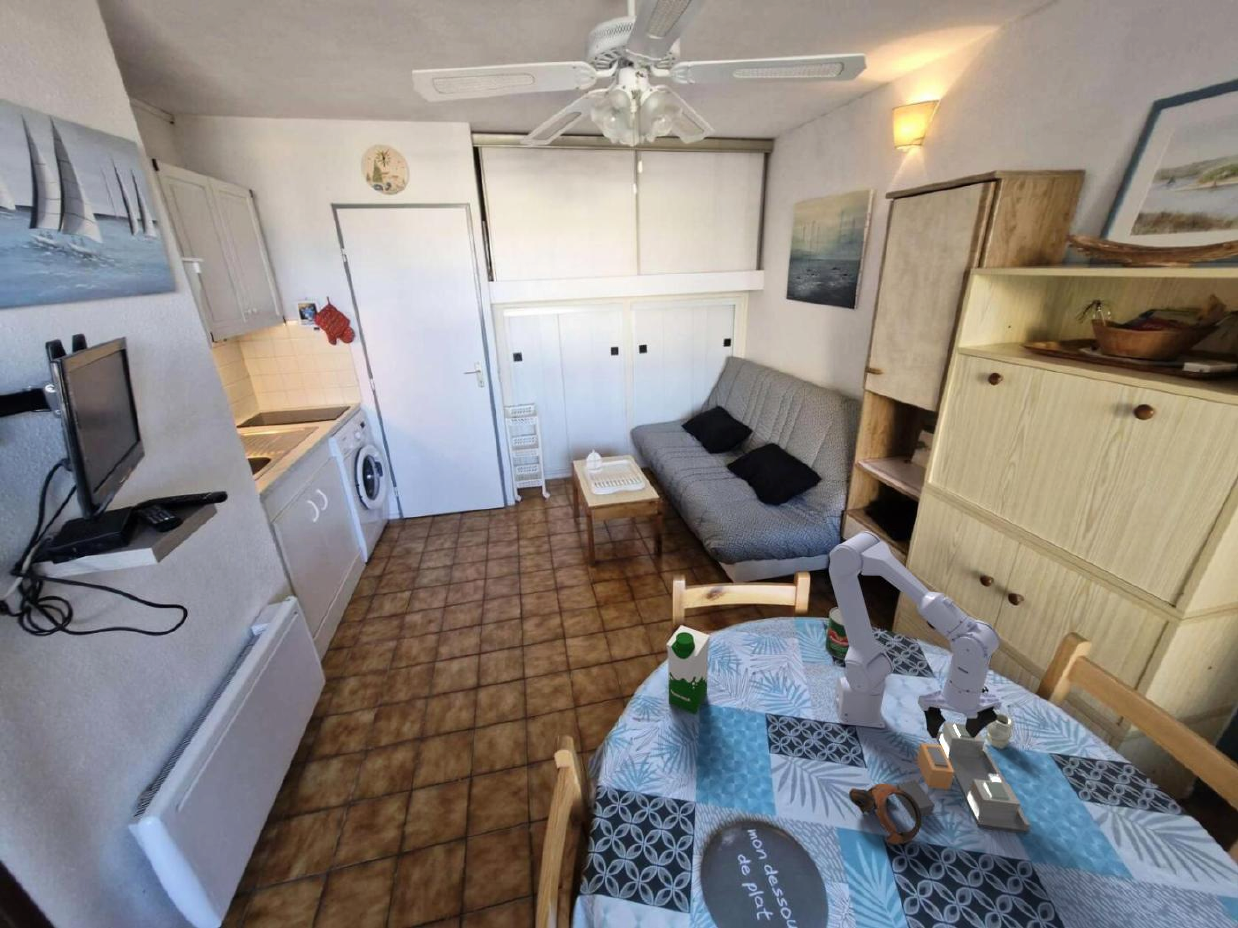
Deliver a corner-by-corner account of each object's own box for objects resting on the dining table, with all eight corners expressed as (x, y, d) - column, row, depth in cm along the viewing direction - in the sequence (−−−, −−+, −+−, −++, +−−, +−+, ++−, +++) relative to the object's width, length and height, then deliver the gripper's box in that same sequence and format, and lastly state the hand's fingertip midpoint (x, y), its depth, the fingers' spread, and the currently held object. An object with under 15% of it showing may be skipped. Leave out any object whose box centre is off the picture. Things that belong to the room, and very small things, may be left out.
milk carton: (663, 703, 122) (662, 637, 115) (680, 679, 129) (680, 615, 122) (697, 719, 117) (698, 651, 110) (712, 692, 124) (714, 627, 117)
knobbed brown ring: (900, 795, 99) (924, 789, 93) (904, 853, 94) (930, 852, 87) (839, 775, 101) (859, 768, 94) (840, 831, 95) (860, 828, 88)
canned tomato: (828, 658, 133) (833, 624, 129) (822, 638, 141) (826, 605, 137) (860, 661, 132) (865, 627, 128) (852, 640, 139) (857, 607, 135)
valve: (1018, 750, 107) (985, 705, 118) (1026, 728, 104) (991, 683, 115) (985, 749, 107) (955, 704, 118) (992, 726, 105) (960, 682, 116)
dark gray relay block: (913, 819, 95) (916, 809, 94) (894, 794, 99) (897, 784, 98) (931, 814, 95) (934, 804, 94) (912, 790, 100) (915, 779, 99)
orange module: (927, 787, 100) (932, 768, 98) (916, 759, 106) (920, 741, 104) (949, 789, 100) (955, 770, 98) (937, 762, 105) (942, 743, 103)
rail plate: (977, 827, 93) (985, 805, 91) (934, 734, 111) (939, 714, 109) (1026, 833, 91) (1035, 811, 89) (974, 738, 110) (980, 718, 107)
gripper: (937, 698, 92) (924, 751, 97) (1019, 697, 91) (1001, 750, 96) (917, 669, 99) (905, 721, 104) (993, 668, 98) (977, 719, 103)
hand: (950, 733), depth 100 cm, fingers open, 7 cm apart
